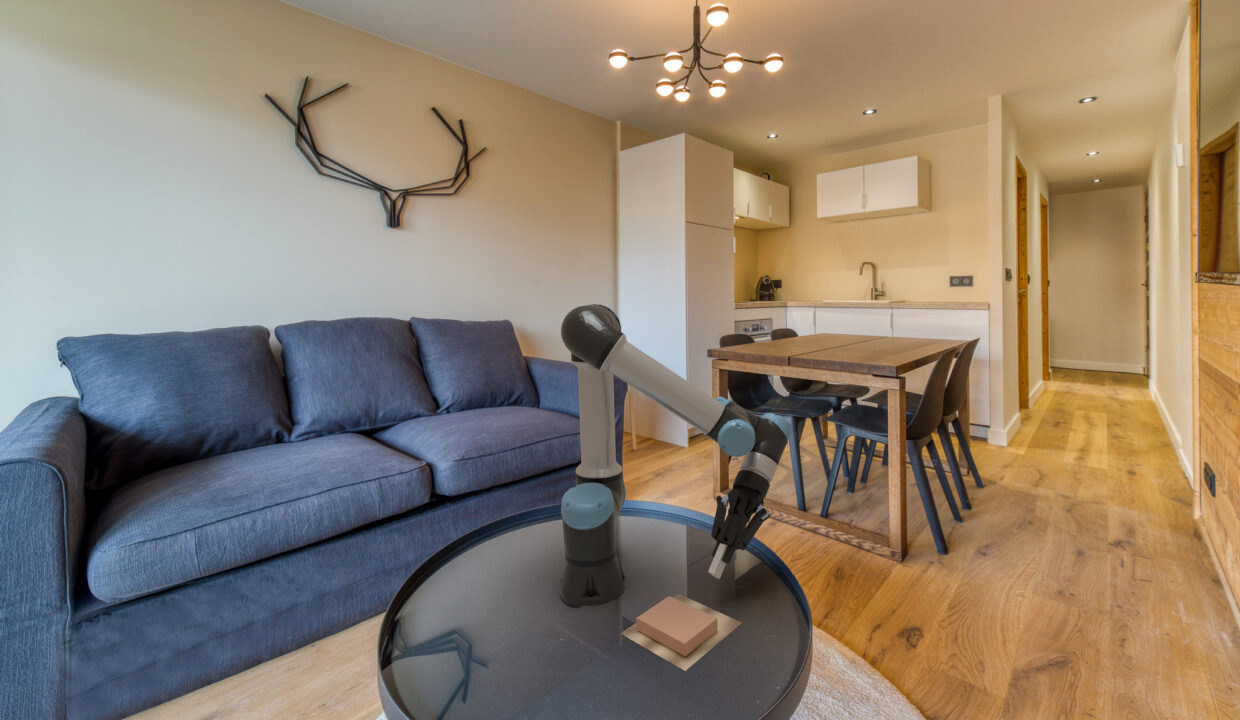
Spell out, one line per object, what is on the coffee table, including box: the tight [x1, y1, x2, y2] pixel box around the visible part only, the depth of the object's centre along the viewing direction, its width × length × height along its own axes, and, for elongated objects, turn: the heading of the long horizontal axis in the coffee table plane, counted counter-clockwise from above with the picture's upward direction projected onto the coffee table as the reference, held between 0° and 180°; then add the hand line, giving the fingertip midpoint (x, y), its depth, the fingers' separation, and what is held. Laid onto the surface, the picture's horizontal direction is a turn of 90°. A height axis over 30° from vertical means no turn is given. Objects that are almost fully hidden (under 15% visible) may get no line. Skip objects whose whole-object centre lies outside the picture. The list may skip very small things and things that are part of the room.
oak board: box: [620, 594, 743, 672], centre depth 105 cm, size 16×18×1 cm
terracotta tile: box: [635, 595, 718, 657], centre depth 104 cm, size 12×3×10 cm
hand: (713, 575), depth 112 cm, fingers closed
